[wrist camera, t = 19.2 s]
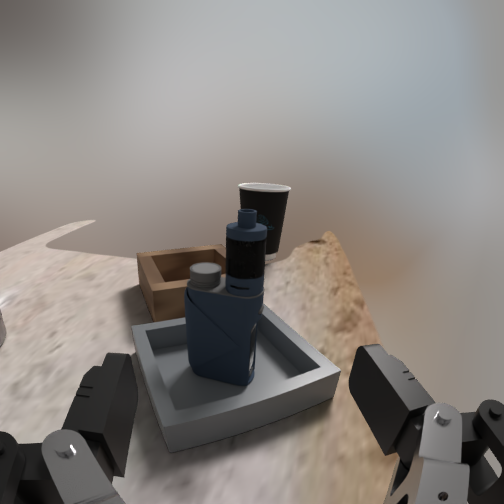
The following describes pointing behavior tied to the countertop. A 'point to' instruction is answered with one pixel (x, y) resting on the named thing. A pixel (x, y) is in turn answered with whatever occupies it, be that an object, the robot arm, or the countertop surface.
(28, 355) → the countertop surface
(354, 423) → the countertop surface
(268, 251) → the dixie cup
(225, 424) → the tray
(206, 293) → the vaping device
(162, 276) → the hollow wooden square
